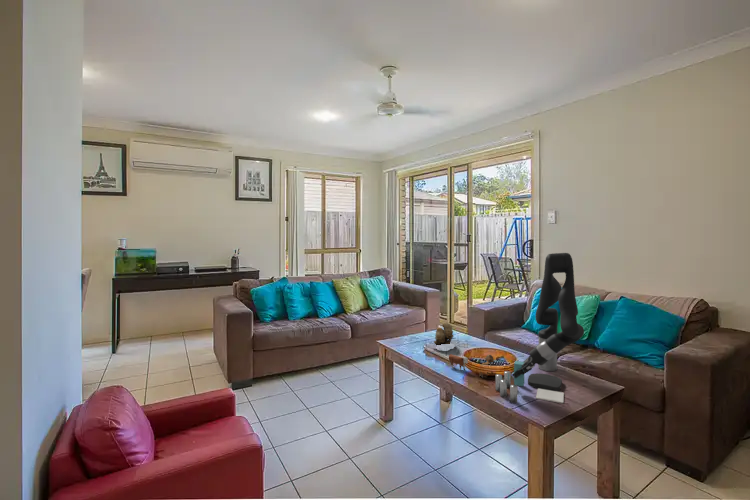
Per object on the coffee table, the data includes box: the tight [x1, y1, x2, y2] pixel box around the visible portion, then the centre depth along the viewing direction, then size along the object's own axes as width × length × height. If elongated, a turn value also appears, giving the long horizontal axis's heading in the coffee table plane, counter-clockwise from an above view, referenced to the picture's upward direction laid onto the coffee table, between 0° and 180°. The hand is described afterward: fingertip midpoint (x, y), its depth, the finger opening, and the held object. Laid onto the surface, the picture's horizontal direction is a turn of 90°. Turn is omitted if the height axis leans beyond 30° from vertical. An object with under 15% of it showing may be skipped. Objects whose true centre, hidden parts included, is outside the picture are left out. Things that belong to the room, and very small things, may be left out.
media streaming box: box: [527, 373, 563, 392], centre depth 183 cm, size 15×15×3 cm
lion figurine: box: [478, 354, 495, 379], centre depth 197 cm, size 15×5×9 cm, turn 149°
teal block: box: [513, 360, 525, 387], centre depth 173 cm, size 4×4×10 cm
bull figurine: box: [448, 353, 470, 371], centre depth 204 cm, size 4×13×8 cm, turn 38°
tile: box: [535, 388, 565, 404], centre depth 170 cm, size 11×11×1 cm
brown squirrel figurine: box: [433, 321, 454, 345], centre depth 243 cm, size 18×12×17 cm, turn 136°
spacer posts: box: [495, 370, 520, 404], centre depth 175 cm, size 23×11×7 cm, turn 152°
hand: (514, 374), depth 174 cm, fingers closed on teal block, 4 cm apart
